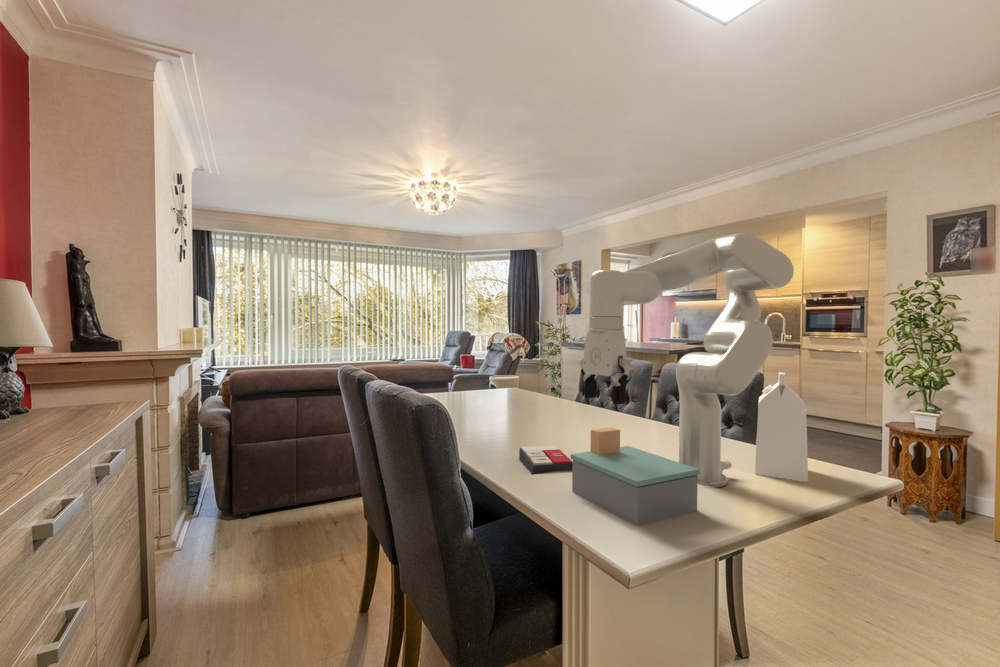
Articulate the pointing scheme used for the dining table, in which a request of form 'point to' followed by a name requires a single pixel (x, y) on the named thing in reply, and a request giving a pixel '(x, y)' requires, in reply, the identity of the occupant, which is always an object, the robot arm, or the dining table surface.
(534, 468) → the calculator
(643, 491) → the tub
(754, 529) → the dining table surface
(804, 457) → the milk
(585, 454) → the lid
